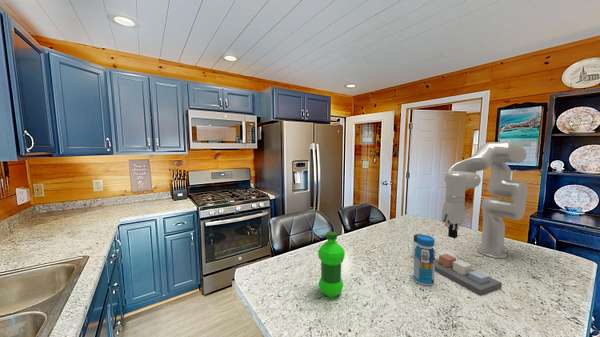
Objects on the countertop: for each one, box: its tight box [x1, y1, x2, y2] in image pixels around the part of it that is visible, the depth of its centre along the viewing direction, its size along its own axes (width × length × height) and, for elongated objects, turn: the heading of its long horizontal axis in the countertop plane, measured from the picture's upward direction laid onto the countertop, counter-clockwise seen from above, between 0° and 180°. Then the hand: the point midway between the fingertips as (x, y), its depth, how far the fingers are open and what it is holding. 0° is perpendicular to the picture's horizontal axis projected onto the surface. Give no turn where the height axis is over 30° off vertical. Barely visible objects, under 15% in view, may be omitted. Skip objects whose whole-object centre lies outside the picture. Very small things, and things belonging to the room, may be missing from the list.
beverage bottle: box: [412, 234, 437, 286], centre depth 102 cm, size 8×8×20 cm
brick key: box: [438, 253, 457, 269], centre depth 112 cm, size 5×5×4 cm
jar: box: [411, 233, 423, 259], centre depth 123 cm, size 9×8×12 cm
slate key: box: [468, 270, 490, 285], centre depth 99 cm, size 5×5×4 cm
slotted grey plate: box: [434, 259, 503, 296], centre depth 106 cm, size 14×24×2 cm, turn 21°
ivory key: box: [453, 259, 472, 276], centre depth 105 cm, size 5×5×4 cm
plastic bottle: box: [317, 231, 346, 298], centre depth 93 cm, size 10×10×25 cm
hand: (452, 237), depth 109 cm, fingers closed
